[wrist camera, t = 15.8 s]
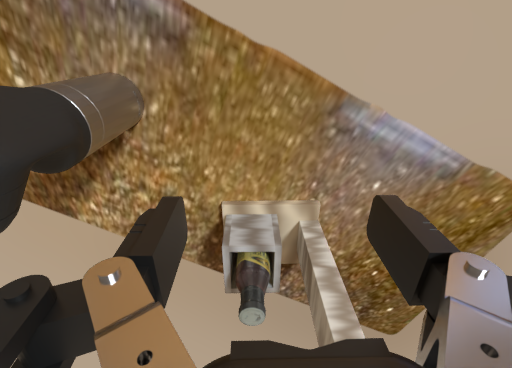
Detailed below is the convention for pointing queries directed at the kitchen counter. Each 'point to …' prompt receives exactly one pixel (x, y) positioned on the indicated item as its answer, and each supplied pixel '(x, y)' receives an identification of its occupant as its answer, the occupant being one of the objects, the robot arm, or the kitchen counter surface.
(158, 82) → the kitchen counter surface
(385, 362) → the robot arm
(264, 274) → the sauce bottle
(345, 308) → the grey holder stand
